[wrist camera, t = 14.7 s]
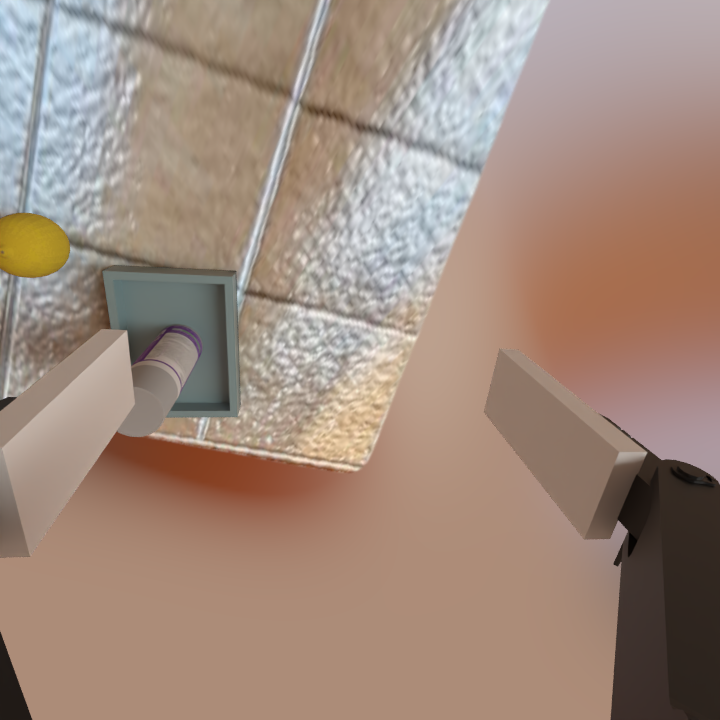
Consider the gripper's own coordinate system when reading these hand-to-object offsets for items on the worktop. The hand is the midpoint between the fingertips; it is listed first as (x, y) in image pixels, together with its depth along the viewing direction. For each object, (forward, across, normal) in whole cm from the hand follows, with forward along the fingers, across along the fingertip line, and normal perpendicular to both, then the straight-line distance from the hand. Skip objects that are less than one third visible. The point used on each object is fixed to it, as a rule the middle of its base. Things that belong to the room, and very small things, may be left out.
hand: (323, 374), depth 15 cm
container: (+32, -13, -12) cm, 36 cm away
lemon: (+33, -24, -2) cm, 41 cm away
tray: (+33, -13, -12) cm, 37 cm away
